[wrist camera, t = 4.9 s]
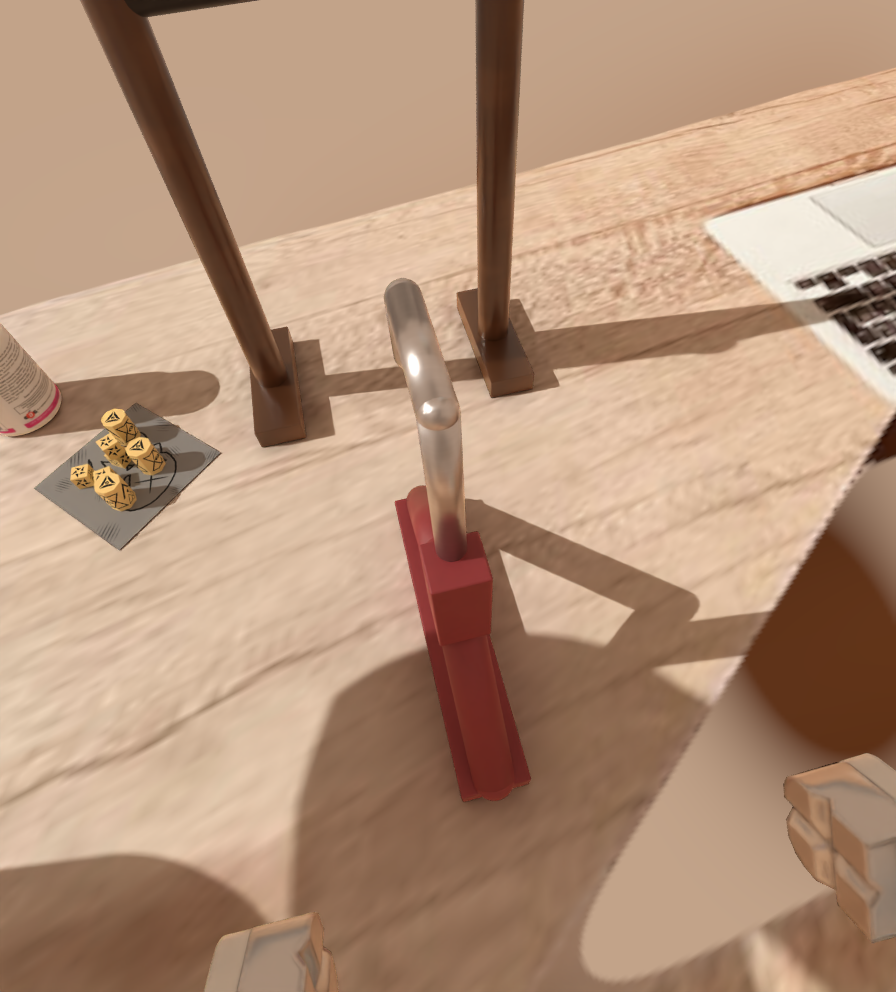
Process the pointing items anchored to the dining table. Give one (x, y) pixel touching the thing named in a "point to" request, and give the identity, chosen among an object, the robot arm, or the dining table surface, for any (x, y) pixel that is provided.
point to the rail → (270, 353)
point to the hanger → (451, 567)
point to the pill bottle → (23, 390)
